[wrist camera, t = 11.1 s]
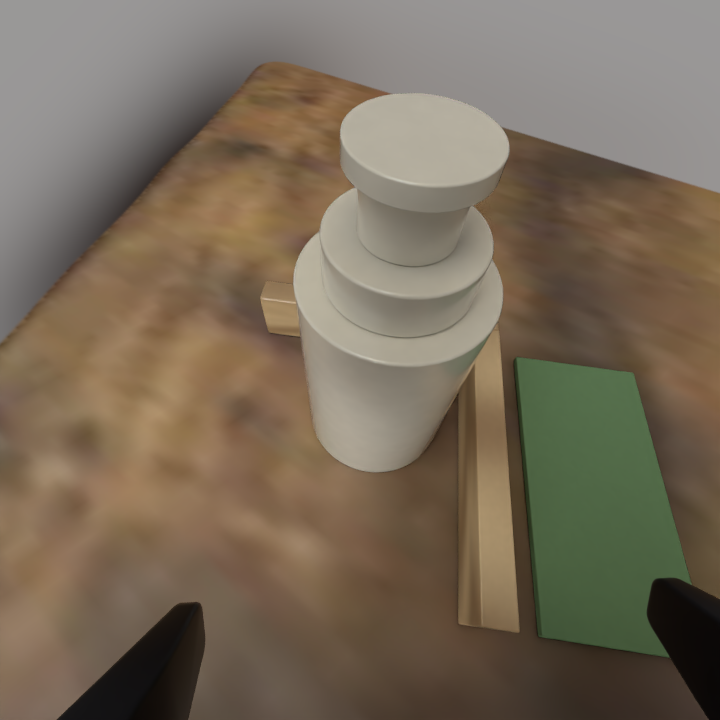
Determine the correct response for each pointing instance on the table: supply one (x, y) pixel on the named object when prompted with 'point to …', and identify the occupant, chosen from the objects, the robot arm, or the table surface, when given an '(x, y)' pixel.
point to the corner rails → (463, 479)
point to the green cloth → (593, 505)
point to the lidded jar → (400, 277)
